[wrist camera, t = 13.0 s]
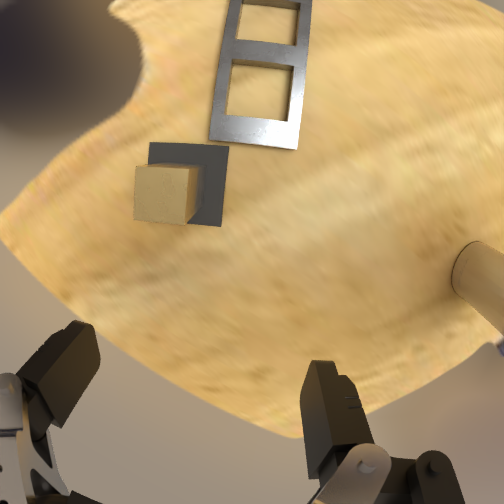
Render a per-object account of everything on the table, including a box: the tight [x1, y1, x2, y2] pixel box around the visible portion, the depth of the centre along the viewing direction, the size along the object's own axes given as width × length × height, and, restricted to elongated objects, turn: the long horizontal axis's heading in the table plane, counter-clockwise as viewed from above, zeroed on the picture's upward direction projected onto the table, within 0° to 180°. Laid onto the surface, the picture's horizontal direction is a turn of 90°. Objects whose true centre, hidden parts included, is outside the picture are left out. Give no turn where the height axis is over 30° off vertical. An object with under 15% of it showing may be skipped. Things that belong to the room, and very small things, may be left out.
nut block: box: [134, 162, 207, 225], centre depth 25 cm, size 4×4×9 cm
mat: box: [148, 142, 229, 227], centre depth 30 cm, size 9×9×1 cm
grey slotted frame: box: [209, 0, 312, 150], centre depth 24 cm, size 9×22×2 cm, turn 173°
